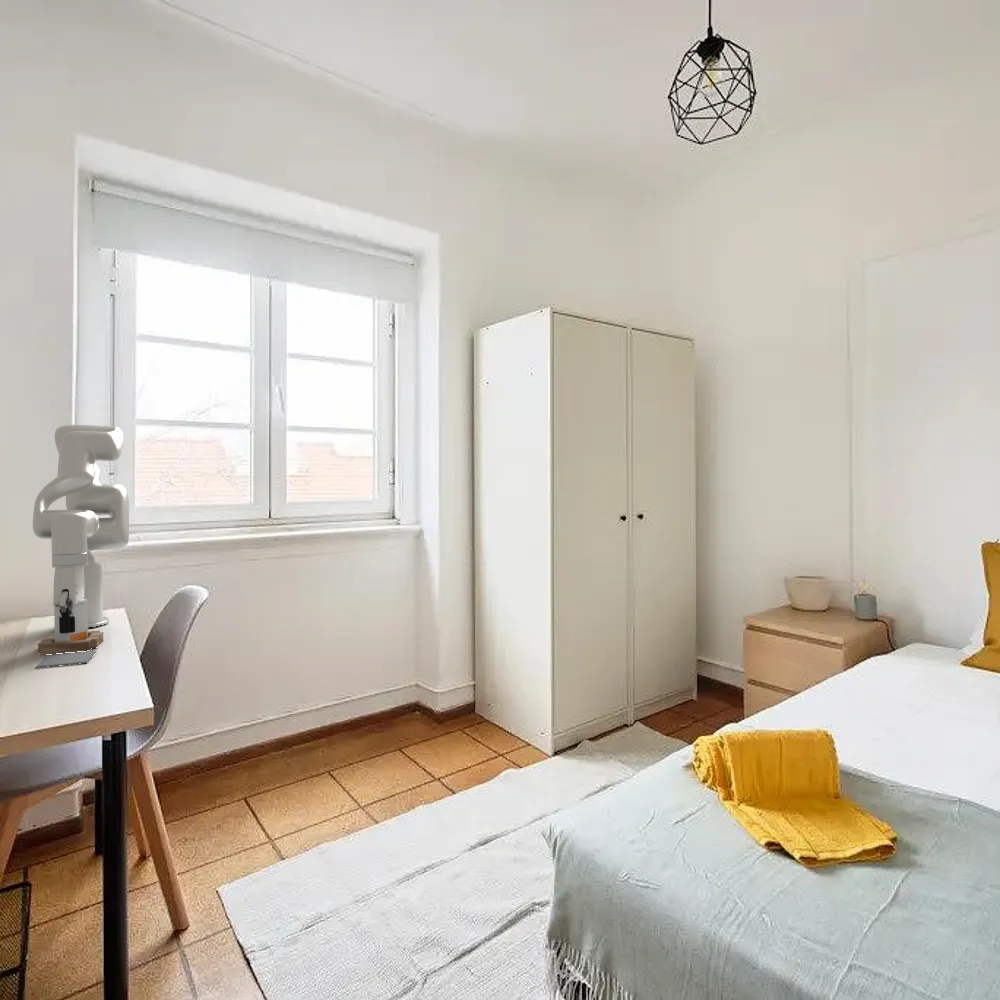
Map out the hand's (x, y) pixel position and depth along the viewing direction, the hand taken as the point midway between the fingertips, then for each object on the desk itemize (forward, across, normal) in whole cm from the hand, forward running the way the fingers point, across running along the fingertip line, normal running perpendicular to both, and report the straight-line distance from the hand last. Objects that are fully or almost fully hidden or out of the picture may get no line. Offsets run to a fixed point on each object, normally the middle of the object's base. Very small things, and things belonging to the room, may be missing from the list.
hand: (71, 628), depth 159 cm
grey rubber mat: (+5, +13, +2) cm, 14 cm away
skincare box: (+5, 0, 0) cm, 5 cm away
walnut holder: (+5, 0, 0) cm, 5 cm away
